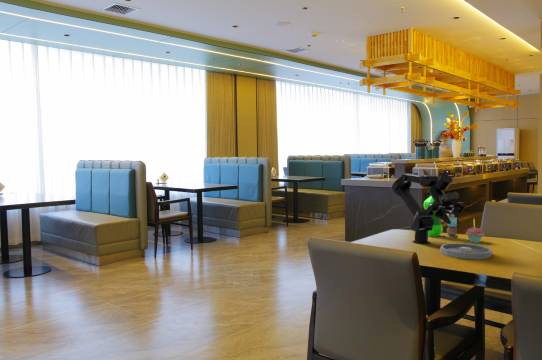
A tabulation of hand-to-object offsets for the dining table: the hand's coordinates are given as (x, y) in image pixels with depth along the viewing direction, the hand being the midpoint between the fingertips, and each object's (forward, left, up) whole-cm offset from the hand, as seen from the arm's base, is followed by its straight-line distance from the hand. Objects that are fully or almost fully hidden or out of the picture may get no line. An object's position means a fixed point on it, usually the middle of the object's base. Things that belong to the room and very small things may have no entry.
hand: (454, 223), depth 205 cm
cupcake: (-30, -9, -14) cm, 34 cm away
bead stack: (0, -1, -7) cm, 7 cm away
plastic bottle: (-26, -31, -14) cm, 43 cm away
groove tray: (-3, +4, -13) cm, 14 cm away
